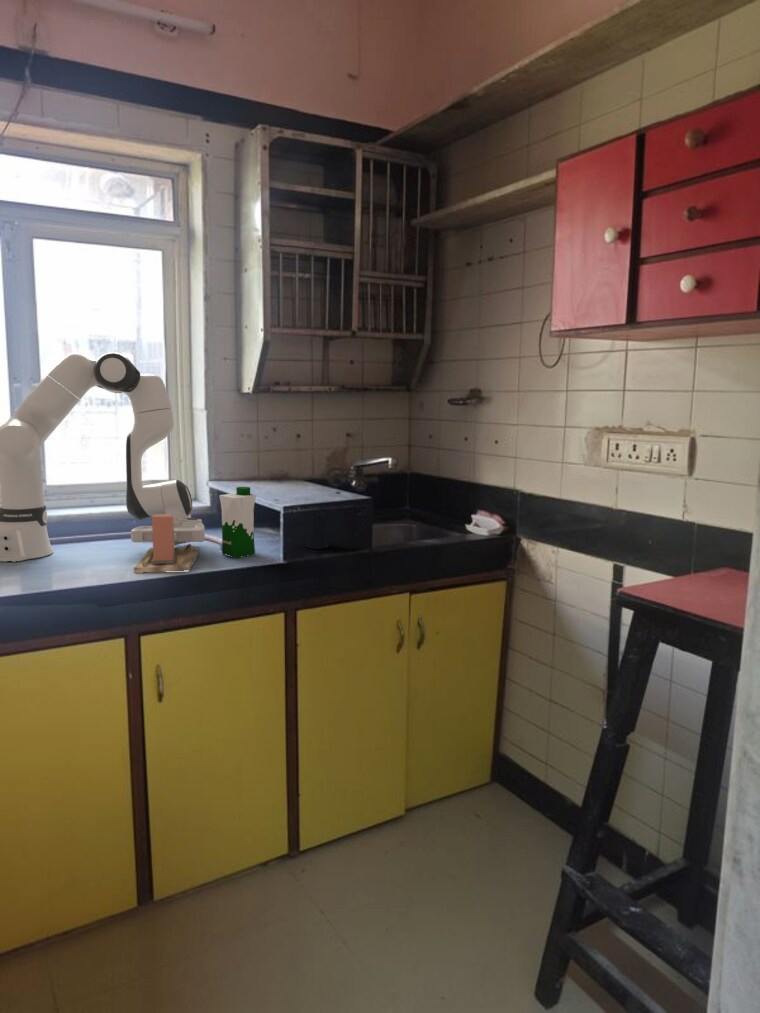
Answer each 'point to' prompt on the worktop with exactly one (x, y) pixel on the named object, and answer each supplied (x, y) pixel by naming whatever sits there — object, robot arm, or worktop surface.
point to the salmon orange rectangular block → (163, 539)
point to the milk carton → (238, 522)
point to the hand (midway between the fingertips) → (164, 539)
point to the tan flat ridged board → (182, 563)
